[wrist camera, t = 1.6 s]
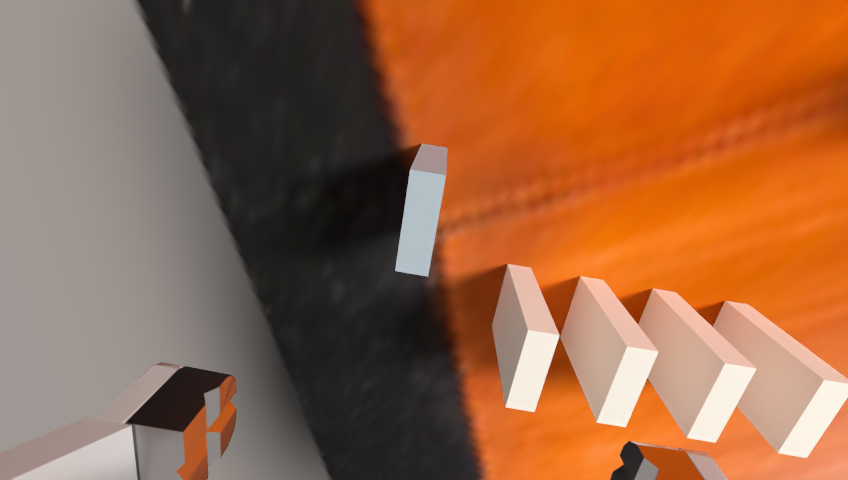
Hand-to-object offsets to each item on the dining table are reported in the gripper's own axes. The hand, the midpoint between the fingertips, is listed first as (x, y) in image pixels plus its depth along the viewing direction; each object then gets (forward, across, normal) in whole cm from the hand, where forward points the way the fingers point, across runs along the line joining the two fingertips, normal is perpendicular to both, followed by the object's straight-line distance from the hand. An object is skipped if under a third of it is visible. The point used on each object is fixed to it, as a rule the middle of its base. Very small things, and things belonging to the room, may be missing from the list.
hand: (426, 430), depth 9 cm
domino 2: (+20, -6, +6) cm, 21 cm away
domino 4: (+20, -16, +6) cm, 26 cm away
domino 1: (+19, +1, -1) cm, 19 cm away
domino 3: (+20, -11, +6) cm, 23 cm away
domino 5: (+20, -21, +6) cm, 29 cm away
